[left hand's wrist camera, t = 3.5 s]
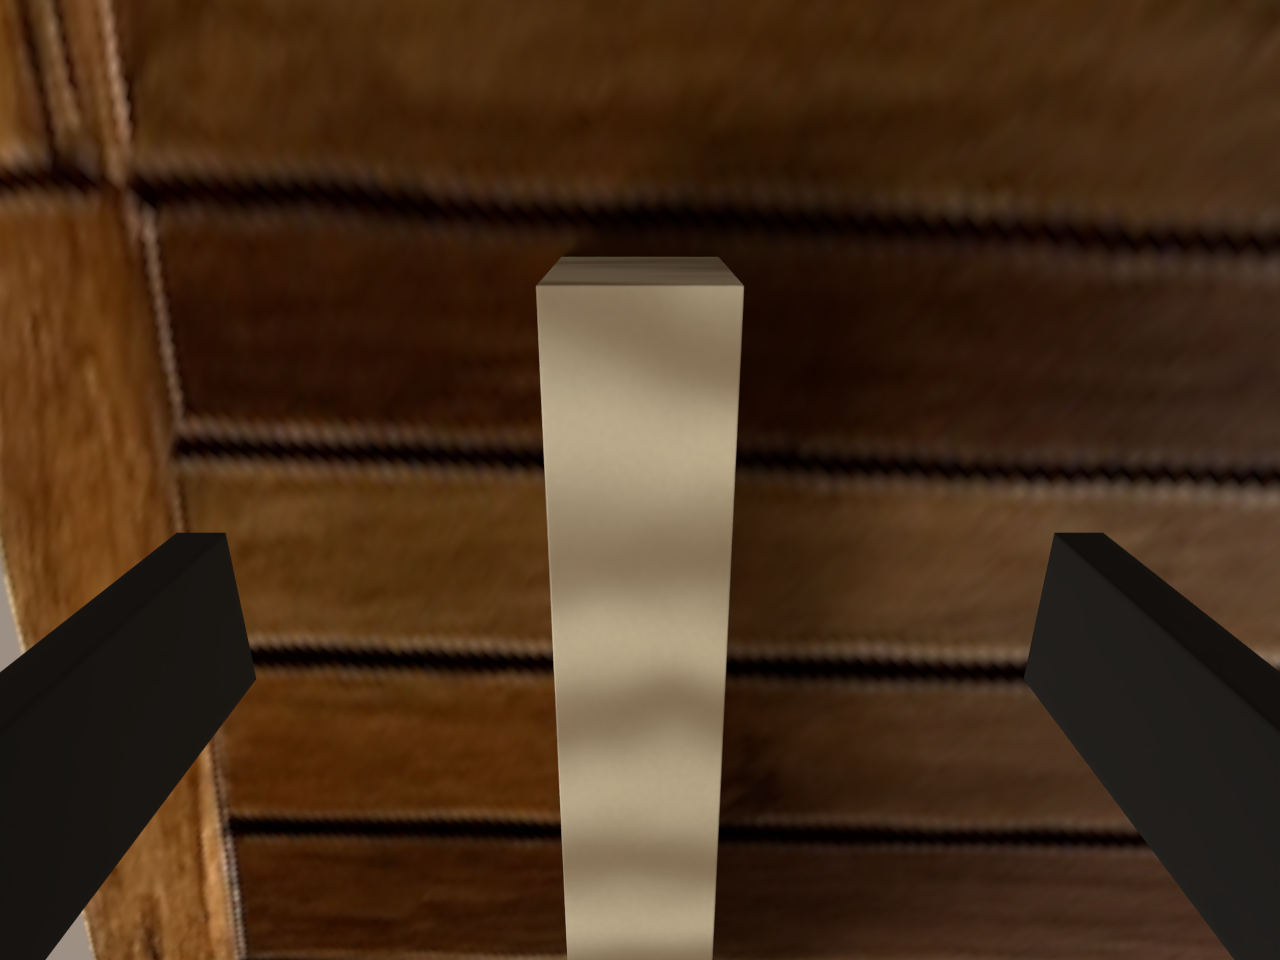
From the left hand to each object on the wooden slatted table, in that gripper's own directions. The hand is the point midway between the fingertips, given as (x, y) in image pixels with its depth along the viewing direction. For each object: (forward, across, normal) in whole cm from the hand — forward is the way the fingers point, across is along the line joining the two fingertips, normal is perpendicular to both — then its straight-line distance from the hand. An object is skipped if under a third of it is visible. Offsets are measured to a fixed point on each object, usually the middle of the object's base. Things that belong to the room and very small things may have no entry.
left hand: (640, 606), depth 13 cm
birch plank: (+15, 0, +14) cm, 20 cm away
